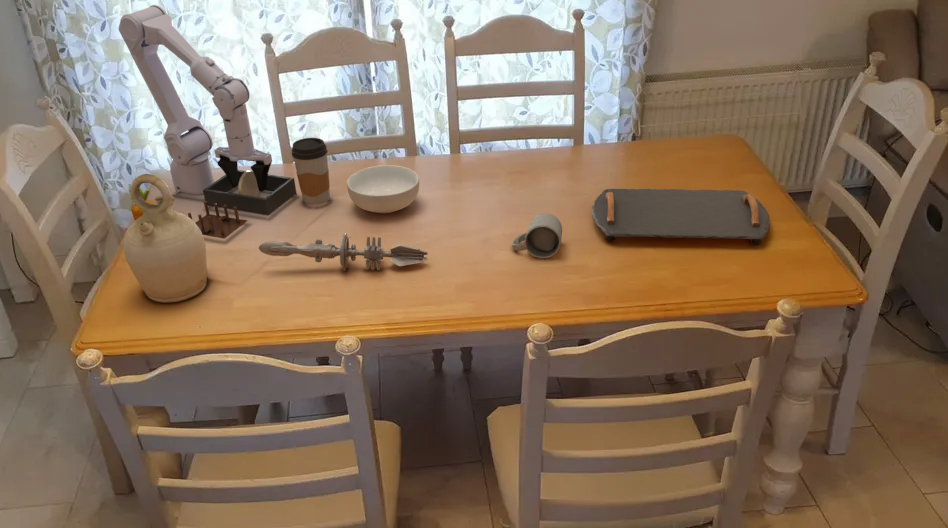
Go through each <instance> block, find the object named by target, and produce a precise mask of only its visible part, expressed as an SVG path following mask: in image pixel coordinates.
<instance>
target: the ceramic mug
mask: <svg viewBox="0 0 948 528" xmlns="http://www.w3.org/2000/svg"><path fill="white" fill-rule="evenodd" d="M562 236H563V226H562V222H561V221H560V219H559V218H558V217H557V216H556V215H554V214H552V213H547V212H543V213H540V214H539V213H538V214H537V215H536V216H534V217H533V218H532V220H531V221H530V222H529V225H528V228H527V230H526V232H524V233H521V234H520V235H518V236H517V237H515V238H514V239H513V240H512V243H511V246H512V248H513V250H514V251H515V252H523V251H527V252H528V253H529V254H530V255H531V256H533V257H535V258H536V259H537V258H538V259H549V258H552V257H554V256H555V255H556V254H557V253H558V252H559V250H560V248H561V243H562ZM522 242H523V243H522Z"/></svg>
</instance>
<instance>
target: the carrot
mask: <svg viewBox="0 0 948 528" xmlns="http://www.w3.org/2000/svg"><path fill="white" fill-rule="evenodd" d="M128 191H129V192H130V189H128ZM140 194H141V196H142V198H143V199H144V200H145V201H146V202H148V203H150V204H152V205H155V204H154V203H153V202H152V201H151V200H148V196H149V194H150V189H148V188H147V189H145V190H144V192H143V190H142V189H141V188H140ZM130 199H131V200H132V198H131V197H130ZM130 208H131V213H132V217H133V220H134V221H135V220H137V219H138V218H139V217H141V216H142V215H143V210H141V209H140V208H138V207H137V206H136V205H135V203H134V204H133V205H132V207H130Z"/></svg>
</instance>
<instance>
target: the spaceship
mask: <svg viewBox="0 0 948 528" xmlns="http://www.w3.org/2000/svg"><path fill="white" fill-rule="evenodd" d="M258 250H259V251H260V252H261V253H262V254H265V255H267V256H273V257H289V256H291V255H302V256H304V257H308V258H314V261H315V263H321V262H322V261H323V259H332V260H333V259H335V258H336V257H339V263H340V265H341V269H342V271H343V272H345V271H346V270H347V268H348V267H349V266H348V265H349V260H351V262H355V261H356V258H357V256H362V257H363V259H365V260H364V262H365V269H366V270H370V263H371V271H375V266H376V270H377V271H380V270H381V263H382V260H384V258H390V259H389V260H390V261H389V262H390V263H392V264H394V265H396V266H398V267H404V266H409V265H410V266H411V265H414V264H420V263H423V262H426V261H428V257H426V256H427V255H428V251H427V250H423V249H420V248H417V247H415V246H410V245H408V244H403V243H399V244H397V245H394V246H392V247H390V251H386V250H384V248H382V237H377V243H376V237H374V236H373V237H372V241H371V237H370V236H367V237H366V244H365V247H364V248H363V250H362V249H361V250H360V249H357V246H356V244H355V243H352V244H351V246H350V237H348V234H347V233H346V232H345V233H343V235H342V238H341V240H340V247H338V246H336V245H335V244H332V243H329V244H327V243H323V240H322V239H318V238H316V239H315V243H307V244H301V245H294V244H292V243H291V242H288V241H275V240H273V241H265V242H262V243H261V244H260V245H258Z"/></svg>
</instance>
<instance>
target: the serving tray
mask: <svg viewBox="0 0 948 528" xmlns="http://www.w3.org/2000/svg"><path fill="white" fill-rule="evenodd" d="M591 209H592V210H591V213H592V218H593V221H594V222H595V224H596V225H597V227H598V228H599V230H601V232H603V234H604V235H605V239H606V242H608V243H614V241H615V240H616V238H617V237H627V238H628V237H629V238H630V237H631V238H632V237H633V238H670V239H671V238H679V239H680V238H681V239H729V240H730V239H732V240H733V239H734V240H735V239H737V240H750V242H751V245H753V246H759V245H760V243H761V242H762V240H763V239H764V238H766V236H767V235H768V233H769V230H770V227H771V223H770V215H769V213H768V211H767V209H766V207H764V206H763V204H762V203H761V202H760V200H758V199H757V198H756V197H755V195H754V194H753V193H749V192H747V191H744V190H729V189H720V190H718V189H680V188H679V189H678V188H670V189H668V188H667V189H665V188H664V189H663V188H662V189H661V188H660V189H656V188H653V189H652V188H637V189H636V188H630V189H629V188H607V189H604V190H602V191H601V193H600V194H599V195H598V196H597V197H596V199H595V200H594V203H593V205H592V206H591Z"/></svg>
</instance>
